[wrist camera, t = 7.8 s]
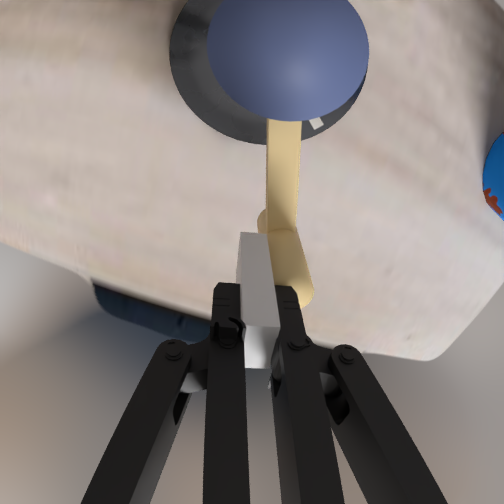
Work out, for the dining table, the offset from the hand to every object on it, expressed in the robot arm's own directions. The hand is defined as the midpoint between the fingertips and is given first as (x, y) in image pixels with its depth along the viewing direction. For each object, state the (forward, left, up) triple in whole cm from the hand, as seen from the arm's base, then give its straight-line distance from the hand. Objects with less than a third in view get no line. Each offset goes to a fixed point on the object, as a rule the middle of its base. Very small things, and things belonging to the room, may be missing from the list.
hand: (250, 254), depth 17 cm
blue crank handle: (-4, +5, -4) cm, 8 cm away
